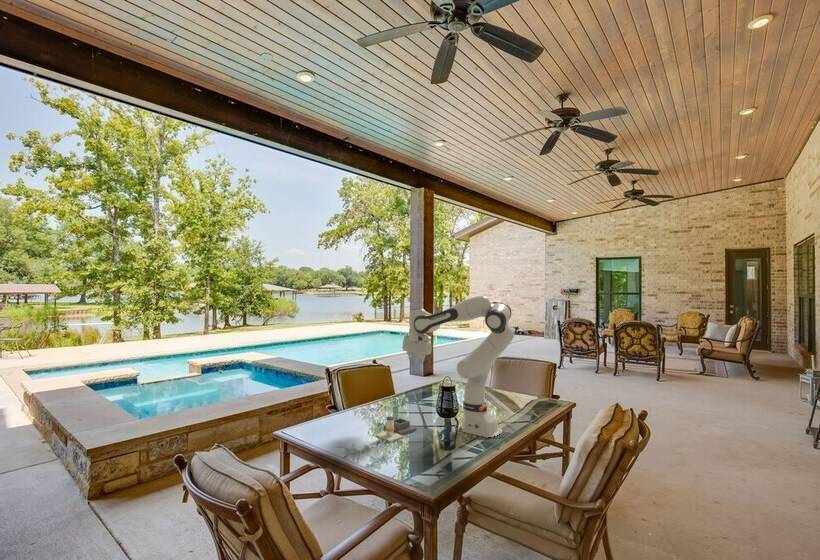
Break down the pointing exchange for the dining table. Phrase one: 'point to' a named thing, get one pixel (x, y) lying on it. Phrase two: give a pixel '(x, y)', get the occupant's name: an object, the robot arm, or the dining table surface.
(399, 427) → the socket
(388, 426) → the plug
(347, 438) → the dining table surface
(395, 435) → the mat
